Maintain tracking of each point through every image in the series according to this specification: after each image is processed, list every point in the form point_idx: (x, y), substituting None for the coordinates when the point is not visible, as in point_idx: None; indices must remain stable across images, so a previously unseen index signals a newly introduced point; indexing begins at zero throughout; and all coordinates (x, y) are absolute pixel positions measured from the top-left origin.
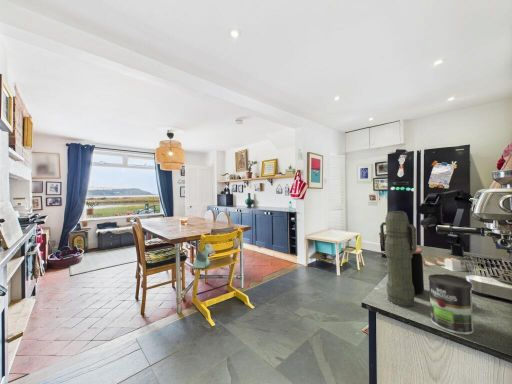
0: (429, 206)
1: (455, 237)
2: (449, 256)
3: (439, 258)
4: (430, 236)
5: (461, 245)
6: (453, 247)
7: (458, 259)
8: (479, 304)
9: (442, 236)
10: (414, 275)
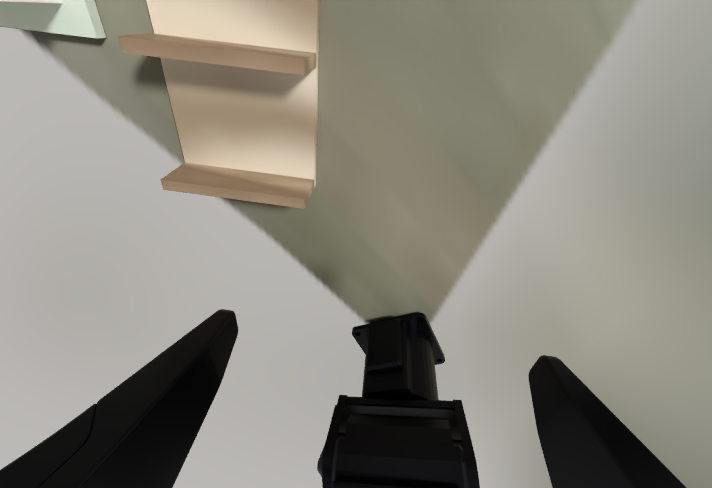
0: None
1: (340, 484)
2: (258, 192)
3: (236, 48)
4: (547, 372)
5: (337, 410)
6: (395, 377)
7: (163, 179)
8: None
9: (163, 371)
10: None
